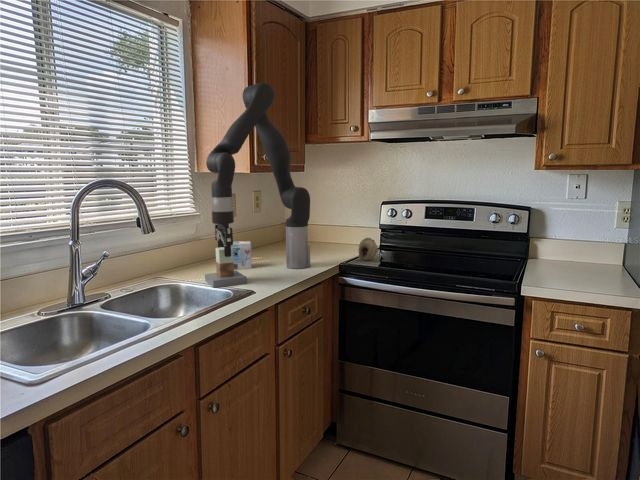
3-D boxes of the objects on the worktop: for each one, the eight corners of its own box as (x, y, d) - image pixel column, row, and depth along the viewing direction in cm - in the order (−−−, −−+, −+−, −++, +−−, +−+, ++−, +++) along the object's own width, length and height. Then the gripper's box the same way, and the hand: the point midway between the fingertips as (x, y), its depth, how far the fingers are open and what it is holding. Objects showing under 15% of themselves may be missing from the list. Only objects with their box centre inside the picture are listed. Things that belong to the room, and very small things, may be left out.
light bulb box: (226, 270, 184) (225, 244, 183) (225, 267, 191) (224, 241, 189) (252, 268, 187) (251, 242, 185) (250, 265, 193) (249, 240, 192)
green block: (229, 260, 166) (229, 246, 166) (233, 262, 162) (232, 248, 161) (216, 261, 164) (215, 247, 163) (219, 263, 160) (219, 249, 159)
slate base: (236, 276, 172) (236, 270, 172) (246, 283, 162) (246, 276, 161) (205, 280, 167) (204, 274, 166) (213, 287, 156) (213, 280, 156)
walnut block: (229, 273, 167) (229, 260, 166) (234, 275, 163) (233, 262, 162) (216, 274, 165) (216, 261, 164) (220, 277, 160) (219, 263, 160)
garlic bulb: (357, 257, 208) (357, 236, 207) (376, 257, 208) (376, 236, 206) (358, 261, 199) (358, 239, 197) (378, 261, 198) (378, 239, 197)
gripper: (239, 210, 156) (240, 257, 158) (227, 208, 168) (228, 250, 170) (217, 211, 152) (219, 259, 155) (207, 209, 165) (209, 252, 167)
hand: (224, 254), depth 163 cm, fingers open, 8 cm apart
